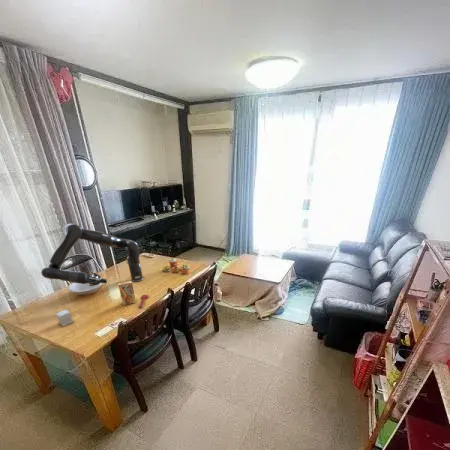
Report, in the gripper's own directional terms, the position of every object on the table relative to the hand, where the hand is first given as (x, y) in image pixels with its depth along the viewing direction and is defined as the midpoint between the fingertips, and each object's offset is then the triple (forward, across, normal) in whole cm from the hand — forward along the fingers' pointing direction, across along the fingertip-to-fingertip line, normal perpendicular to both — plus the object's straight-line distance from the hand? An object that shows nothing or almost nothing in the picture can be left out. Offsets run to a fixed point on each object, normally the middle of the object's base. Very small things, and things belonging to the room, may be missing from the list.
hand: (106, 281), depth 173 cm
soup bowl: (-16, +17, +26) cm, 35 cm away
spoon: (+25, -5, +9) cm, 28 cm away
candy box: (+16, -6, +12) cm, 21 cm away
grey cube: (-19, -24, +18) cm, 36 cm away
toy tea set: (+52, +47, +12) cm, 71 cm away
